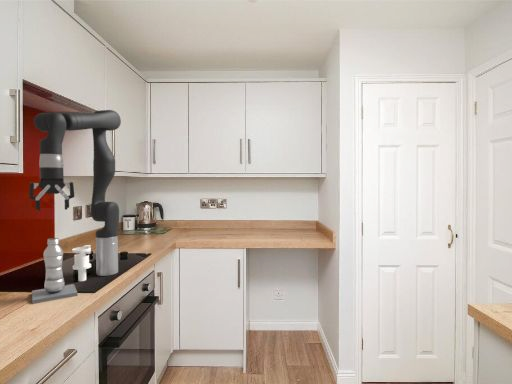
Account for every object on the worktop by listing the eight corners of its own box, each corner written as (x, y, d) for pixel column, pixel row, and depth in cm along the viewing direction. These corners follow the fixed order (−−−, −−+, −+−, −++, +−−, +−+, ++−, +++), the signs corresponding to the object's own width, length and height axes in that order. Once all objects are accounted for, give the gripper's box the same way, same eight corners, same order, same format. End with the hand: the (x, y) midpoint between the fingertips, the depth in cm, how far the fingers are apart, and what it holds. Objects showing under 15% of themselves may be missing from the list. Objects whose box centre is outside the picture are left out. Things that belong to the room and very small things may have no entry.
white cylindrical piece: (91, 281, 140) (91, 246, 139) (73, 283, 137) (72, 248, 136) (90, 276, 146) (90, 243, 146) (72, 279, 143) (72, 245, 142)
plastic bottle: (52, 295, 119) (51, 241, 119) (40, 293, 122) (38, 239, 121) (68, 289, 125) (67, 238, 125) (56, 287, 128) (55, 236, 127)
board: (32, 293, 125) (31, 290, 124) (73, 286, 133) (73, 284, 132) (32, 303, 115) (32, 300, 115) (77, 295, 123) (77, 292, 123)
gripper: (72, 167, 129) (73, 208, 130) (28, 166, 121) (29, 210, 121) (74, 166, 123) (75, 209, 123) (28, 166, 115) (29, 212, 115)
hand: (52, 210), depth 122 cm, fingers open, 8 cm apart
